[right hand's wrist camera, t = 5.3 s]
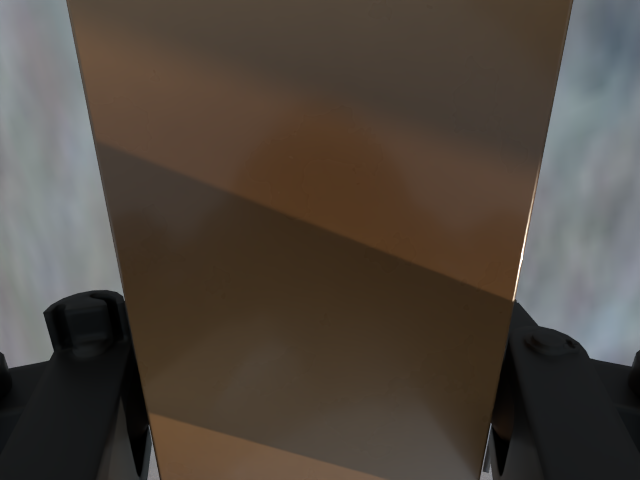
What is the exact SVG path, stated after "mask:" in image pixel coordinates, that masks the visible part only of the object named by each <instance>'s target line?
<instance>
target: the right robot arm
mask: <svg viewBox="0 0 640 480" xmlns="http://www.w3.org/2000/svg"><path fill="white" fill-rule="evenodd" d="M43 314H44V317H45V321H46V324H47V328H48V331H49V335H50V338H51V342H52V346H53V349H54V353H53V355H52V357H51V358H50V360H49V361H45V362H41V363H35V364H30V365H25V366H20V367H14V368H9V369H8V366H7V363H6V360H5V357H4V354H2V353H1V352H0V480H147V477H148V469H149V462H150V454H151V446H152V442H151V435H150V430H149V421H148V416H147V411H146V405H145V400H144V395H143V390H142V385H141V380H140V375H139V370H138V365H137V359H136V354H135V349H134V344H133V339H132V334H131V329H130V324H129V319H128V313H127V308H126V303H125V301H124V298H123V296H122V295H120V294H119V293H117V292H113V291H108V290H94V291H88V292H82V293H77V294H74V295H72V296H69V297H66V298H63V299H61V300H59V301H58V302H56V303H54V304H52V305H51V306H49V307H48V308H47V309H46V310H45V311H44V312H43ZM491 424H492V425H491V430H490V435H489V440H488V446H487V451H486V456H485V461H484V467H483V472H487V473H489V468H490V464H491V468H492V476H493V480H640V350H639V351H638V352H637V353H636V356H635V359H634V362H633V365H632V367H631V366H625V365H620V364H615V363H609V362H604V361H599V360H594V359H590V358H589V356H588V354H587V352H586V350H585V349H584V348H583V347H582V346H581V345H580V343H579V342H577V341H576V340H574V339H573V338H571V337H570V336H568V335H566V334H563V333H561V332H559V331H556V330H554V329H549V328H545V327H540V326H538V325H537V324H536V322H535V321H534V320H533V319H532V318H531V317H530V315H529V314H528V313H527V312H526V311H525V310H524V309H523V307H522V306H521V305H520V304H519V303H517V300H516V299H515V301H514V306H513V311H512V316H511V321H510V326H509V332H508V337H507V342H506V347H505V352H504V357H503V362H502V367H501V373H500V378H499V383H498V388H497V393H496V398H495V403H494V408H493V413H492V419H491Z"/></svg>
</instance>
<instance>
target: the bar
mask: <svg viewBox="0 0 640 480" xmlns="http://www.w3.org/2000/svg"><path fill="white" fill-rule="evenodd" d="M66 1H67V7H68V12H69V17H70V22H71V27H72V32H73V37H74V42H75V47H76V53H77V58H78V63H79V68H80V73H81V78H82V83H83V88H84V94H85V99H86V104H87V109H88V114H89V119H90V124H91V129H92V134H93V140H94V145H95V150H96V155H97V160H98V165H99V170H100V175H101V180H102V186H103V191H104V196H105V201H106V206H107V211H108V216H109V221H110V226H111V232H112V237H113V242H114V247H115V252H116V257H117V262H118V267H119V272H120V278H121V283H122V288H123V293H124V298H125V303H126V308H127V313H128V319H129V324H130V329H131V334H132V339H133V344H134V349H135V354H136V359H137V365H138V370H139V375H140V380H141V385H142V390H143V395H144V400H145V405H146V411H147V416H148V421H149V426H150V431H151V436H152V441H153V446H154V451H155V457H156V462H157V467H158V472H159V477H160V480H480V475H481V470H482V465H483V460H484V454H485V449H486V444H487V439H488V434H489V429H490V424H491V419H492V413H493V408H494V403H495V398H496V393H497V388H498V383H499V378H500V373H501V367H502V362H503V357H504V352H505V347H506V342H507V337H508V332H509V326H510V321H511V316H512V311H513V306H514V301H515V296H516V291H517V286H518V280H519V275H520V270H521V265H522V260H523V255H524V250H525V245H526V239H527V234H528V229H529V224H530V219H531V214H532V209H533V204H534V199H535V193H536V188H537V183H538V178H539V173H540V168H541V163H542V158H543V152H544V147H545V142H546V137H547V132H548V127H549V122H550V117H551V112H552V106H553V101H554V96H555V91H556V86H557V81H558V76H559V71H560V65H561V60H562V55H563V50H564V45H565V40H566V35H567V30H568V25H569V19H570V14H571V9H572V4H573V0H66Z"/></svg>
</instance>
